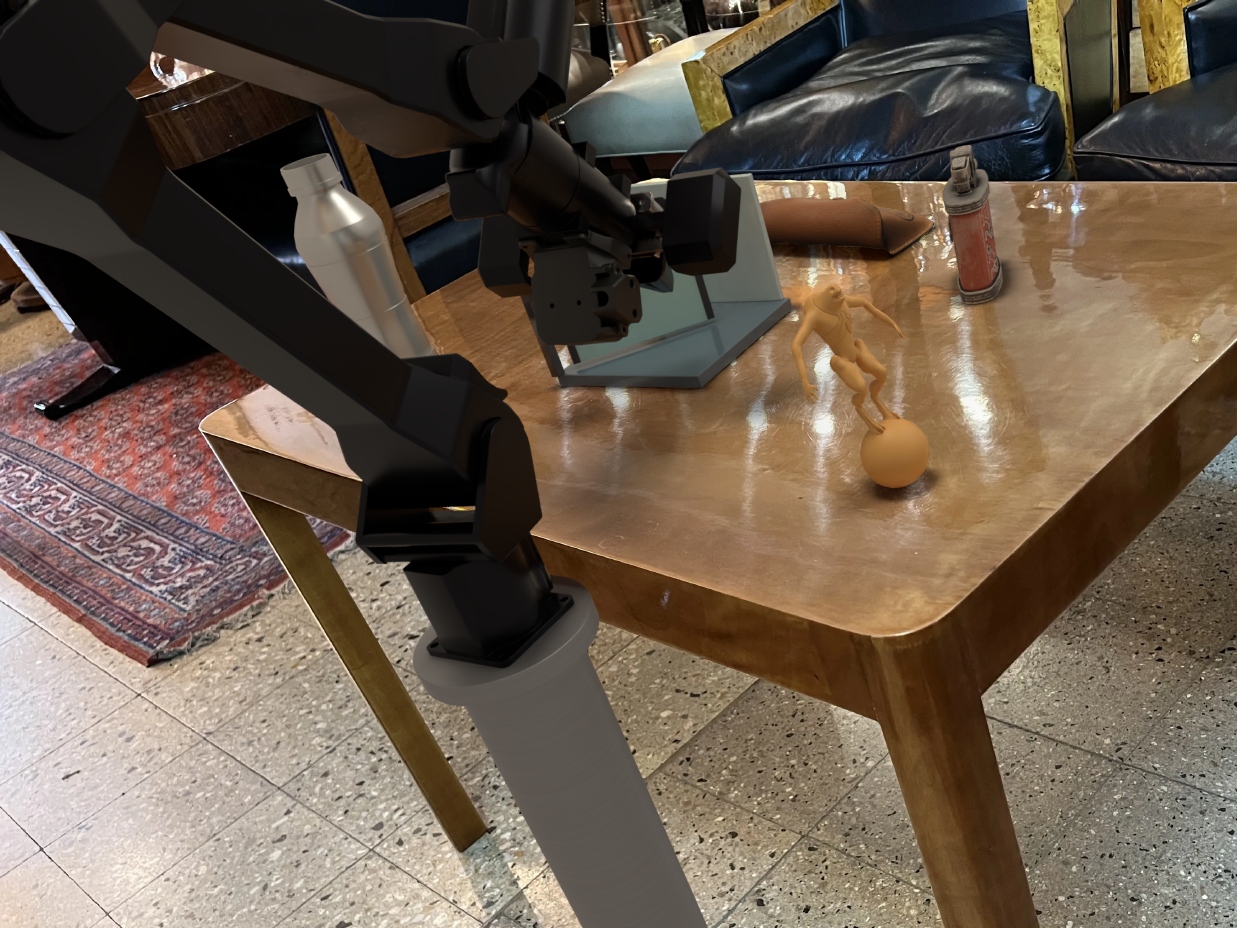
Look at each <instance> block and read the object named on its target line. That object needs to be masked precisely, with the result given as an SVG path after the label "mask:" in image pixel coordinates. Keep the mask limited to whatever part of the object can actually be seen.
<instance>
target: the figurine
mask: <svg viewBox="0 0 1237 928" xmlns="http://www.w3.org/2000/svg"><path fill="white" fill-rule="evenodd" d="M857 308H864V309H865V310H866V312H868V313H869V314H870V315H872V316H873V317H874V318H875V319H877V320H878V321H880V322H882V323H883V324H886V325H888V326H890V327H891V328H893V329H894V330H895V331H896V332H897V333H898V334H899V337H901V339H903V340H906V337H905V335H904V334H903V332H902V331H901V329H900V327H899V326H898V324H897V323H896V322H895V321H894V320H892V319H891V317H889V316H888V314H886V313H884V312H883V311H881V310H880V309H878V308H877V307H875V306H874V305H873V304H872V303H871V302H870V301H869V300H867V299H866V298H864V297H860V296H852V295H851V296H847V295H845V294H844V293H843V289H842V287H841V286H840V285H838V284H837V283H831V284H829V285H828V286H827V287H826V288H825V290H821V291H819V292H814V293H812V294H810V295H809V296H808V297H807V298H806V300H805V301H804V304H803V315H804V316H803V318H802V322H801V325H800V327H799V329H798V330H797V333H796V334H795V336H794V338H793V340H792V342H791V345H790V349H791V354H792V357H793V359H794V363H795V365H796V369H797V372H798V375H799V378H800V381H801V384H802V389H803V390H802V391H803V393H804V396H805V398H806V400H807V402H808V404H811V403H813V404H816V401H815V400H814V398H815V399H816V400H817V401H819V400H820V399H819V398H818V396H817V394H816V393H815V391H814V390H816V391H819V388H818V387H816V386H815V385H812V384H810V382H809V373H808V368H807V365H806V363H805V360H804V356H803V351H802V347H803V345H804V344H805V343H806V341H807V340H808V339H809V337H810V336H811V334H812V332H813V331H814V332H815V333H816V334H817V335H818V336H819V338H821V339H822V340H823V342H824V343H825V344H826V345H827V346H828V347H829V348H830V351H831V352H832V353H833V354H834V355H832V356H831V358H829V359H830V360H829V367H830V368H831V370H832V372H833V373H835V374H836V375H837V376H838V378H839V379H840V380H842V382H843V383H844V384H845V385H846V386H847V387H848V388H849V389H851V390H852V391H853V392H855V393H854V394H853V395H852V397H851V400H850V401H851V404H852V406H854V410H855V412H856V413H857V415H858V416H859V417H860V419H861V420H862V421H863V422H864V424H865V425H866V427H867V428H868V430H867V431H866V433H865V434H864V436H863V437H862V440H861V443H860V447H859V448H860V449H859V457H860V462H861V466H862V468H863V471H864V472H865V474H866V475H867V476H868V477H869V478H870V479H871V481H873V482H875V484H877V485H880V486H882V487H885V488H890V489H891V488H892V489H899V488H904V487H908V486H910V485H911V484H913V483H915V482H916V481H918V480H919V478H920V477H922V475H923V474H924V472H925V470H926V469H927V467H928V463H929V461H930V446H929V440H928V439H927V436H926V435H925V433H924V431H923V430H922V429H921V428H920V427H919V426H918V425H917V424H915V423H914V422H912V421H910V420H908V419H906V418H902V417H901V416H900V415H899V414H898V413H897V412H895V411H892V410H891V409H889V407H887V405H886V404H885V402H883V400H882V399H881V397H880V396H879V393H880V392H881V391H882V389H883V387H884V385H885V384H886V382H887V379H888V369H887V368H886V367H885V366H884V365H883V364H882V363H880V362H879V360H878V359H877V358H876V357H875V356H874V355H873V354H872V353H871V352H870V349H869V348H868V346H867V345H866V343H865V341H864V340H863V339H862V338H857V339H856V340H854V338H853V326H852V325H853V318H852V312H851V310H850V309H857ZM863 373H865V374H869V375H872V376H873V377H874V378H875V379H874V380H872V381H870V384H869V386H868V385H867V382H866V380H865V379H864V377H863ZM868 391H869V393H870V399H871V401H872V403H873V404H874V405H875V407H876V409H877V411H879V413H880V414H881V415H882V419H881V420H880V421H876V420H875V419H874V418H873V417H872V416H871V415H870V414H869V413H868V411H867V410H866V408H864V407H863V404H865V400H866V398H867V394H868ZM813 397H814V398H813Z"/></svg>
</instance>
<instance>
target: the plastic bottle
mask: <svg viewBox="0 0 1237 928" xmlns="http://www.w3.org/2000/svg"><path fill="white" fill-rule="evenodd" d="M280 174H281V176H282V178H283V180H284V182H285V184H286V186H287V191H288V193H289V195H290V197H292V198H293V197H295V198H296V200H297V209H296V215H295V220H294V232H293V233H294V234H293V237H294V244H295V249H296V250H297V252H298V254H299V256H300V258H301V260H302V261H303V263H305V267H307V269H308V270H309V272H310V274H311V275H312V277H313V278H314V280H315V281H316V283H317V284H318V286H319V287H320V289H321V290H322V292H323V293H324V295H325V297H326V298H327V299H328V300H329V301H330V302H331V303H333V304H334V305H335V306H336V307H338V308H339V309H340V310H341V311H343V312H344V313H345V314H346V315H347V316H349V317H350V318H351V319H352V320H354V321H355V322H356V323H357V324H359V325H360V326H361V327H362V328H363V329H365V330H366V331H367V332H368V333H370V334H371V335H372V336H373V337H375V338H376V339H377V340H378V341H379V342H381V343H382V344H383V345H384V346H386V347H387V348H388V349H389V350H391V351H392V352H393V353H394V354H395V355H397V356H398V357H399V358H410V357H420V356H431V355H440V354H439V353H438V351H437V350H436V348H435V347H434V345H433V344H431V341H430V339H429V338H428V336H427V334H426V332H425V330H424V328H423V327H422V325H421V322H420V320H419V319H418V317H417V315H416V313H415V311H414V310H413V308H412V305H411V304H410V301H409V299H408V296H407V294H406V293H405V290H404V289H405V288H404V286H403V282H402V280H401V277H400V275H399V272H398V269H397V265H396V263H395V259H394V255H393V252H392V249H391V245H390V242H389V241H390V240H389V238H388V236H387V234H386V233H387V231H386V229H385V228H386V227H385V226H384V223H383V219H382V218H380V216H379V215H378V213H377V212H376V211H375V210H374V208H373V207H371V206H370V205H368V204H367V203H366V202H365V201H364V200H362V198H360V197H358V196H356V195H355V194H353V193H352V192H350V191H349V190H347V189H345V188H344V187H343V185H342V184H341V181H343V178H344V177H343V176H342V174H341V172H340V171H338V169H337V166H336V165H335V162H334V160H333V158H332V156H331V155H330V153H320V154H315V155H311V156H308V157H304V158H301V159H299V160H296V161H294V162H291V163H288V164H287V165H285V166H283V167H281V168H280Z"/></svg>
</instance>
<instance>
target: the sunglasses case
mask: <svg viewBox="0 0 1237 928" xmlns="http://www.w3.org/2000/svg"><path fill="white" fill-rule="evenodd" d="M759 203H760V207H761V211H762V214H763V218H764V222H765V226H766V230H767V234H768V238H769V241H770V245H774V246H777V245H783V244H790V245H800V246H821V245H822V246H828V247H846V248H847V247H849V248H870V249H875V250H880V249H883V250H884V251H885V252H886V253H888V254H891V255H892V256H894V255H897V254H898V253H900V252H901V251H904V250H906V249H907V248H909V247H910V246H912V245H914V244H915V243H917V242H918V241H919V240H921V238H923V237H924V236H925V235H926V234H927V233H928V232H930V231H931V230H932V229H933V228H934V226H935V221H934V220H931V219H929V218H927V217H925V216H923V215H920V214H917V213H914V212H910V211H908V210H907V211H906V210H901V209H897V208H890V207H882V206H875V205H873V204H872V203H870V202H868V201H866V200H865V199H863V198H862V197H859V196H853V197H848V198H844V197H842V196H840V197H839V196H838V197H832V198H826V197H825V198H823V197H822V198H821V197H820V198H818V197H803V196H802V197H801V196H800V197H785V198H777V199H776V198H775V199H772V200H766V201H765V200H764V201H762V202H759Z"/></svg>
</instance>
